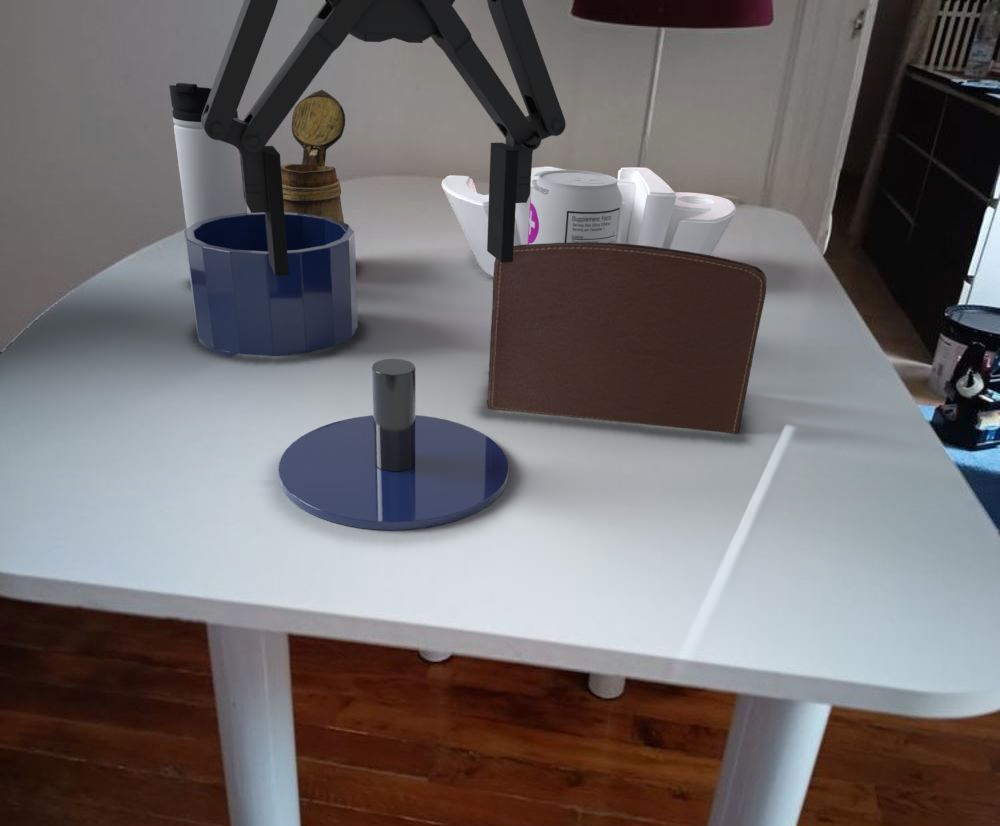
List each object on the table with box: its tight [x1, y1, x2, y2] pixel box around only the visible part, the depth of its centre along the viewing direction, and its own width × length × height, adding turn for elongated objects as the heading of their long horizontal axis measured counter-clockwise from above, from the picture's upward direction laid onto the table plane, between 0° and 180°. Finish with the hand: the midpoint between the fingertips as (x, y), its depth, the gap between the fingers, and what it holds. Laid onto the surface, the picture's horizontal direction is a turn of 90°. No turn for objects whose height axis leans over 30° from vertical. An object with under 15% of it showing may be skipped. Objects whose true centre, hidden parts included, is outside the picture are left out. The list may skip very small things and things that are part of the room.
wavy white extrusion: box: [441, 166, 737, 277], centre depth 107 cm, size 35×16×11 cm, turn 88°
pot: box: [183, 212, 359, 358], centre depth 84 cm, size 15×15×10 cm
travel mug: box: [168, 82, 248, 229], centre depth 93 cm, size 6×7×20 cm
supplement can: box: [528, 169, 623, 244], centre depth 85 cm, size 8×8×15 cm
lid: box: [277, 358, 510, 531], centre depth 61 cm, size 16×16×8 cm
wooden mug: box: [281, 89, 346, 223], centre depth 102 cm, size 9×14×18 cm, turn 178°
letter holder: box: [486, 242, 768, 435], centre depth 72 cm, size 10×20×14 cm, turn 82°
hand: (393, 263), depth 55 cm, fingers open, 13 cm apart
